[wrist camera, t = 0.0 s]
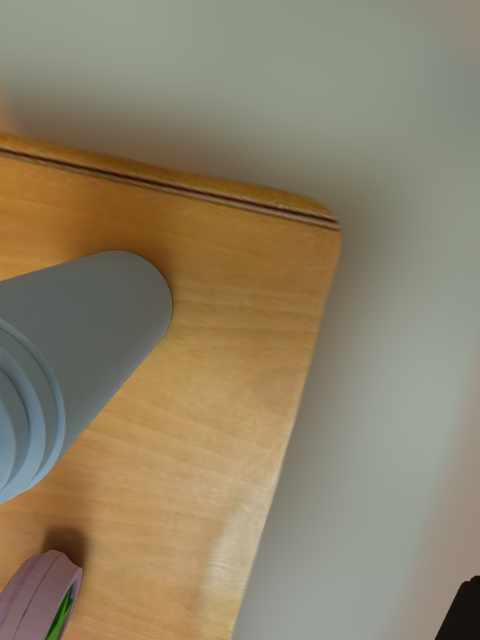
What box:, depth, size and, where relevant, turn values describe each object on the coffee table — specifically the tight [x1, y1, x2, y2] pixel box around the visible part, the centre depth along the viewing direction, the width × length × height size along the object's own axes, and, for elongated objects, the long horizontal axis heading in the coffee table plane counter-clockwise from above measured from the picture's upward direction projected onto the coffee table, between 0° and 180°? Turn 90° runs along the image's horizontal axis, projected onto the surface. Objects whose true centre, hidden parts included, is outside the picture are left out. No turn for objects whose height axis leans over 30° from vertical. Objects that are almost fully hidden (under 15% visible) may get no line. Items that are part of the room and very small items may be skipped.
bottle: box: [0, 250, 173, 504], centre depth 17 cm, size 6×6×20 cm
